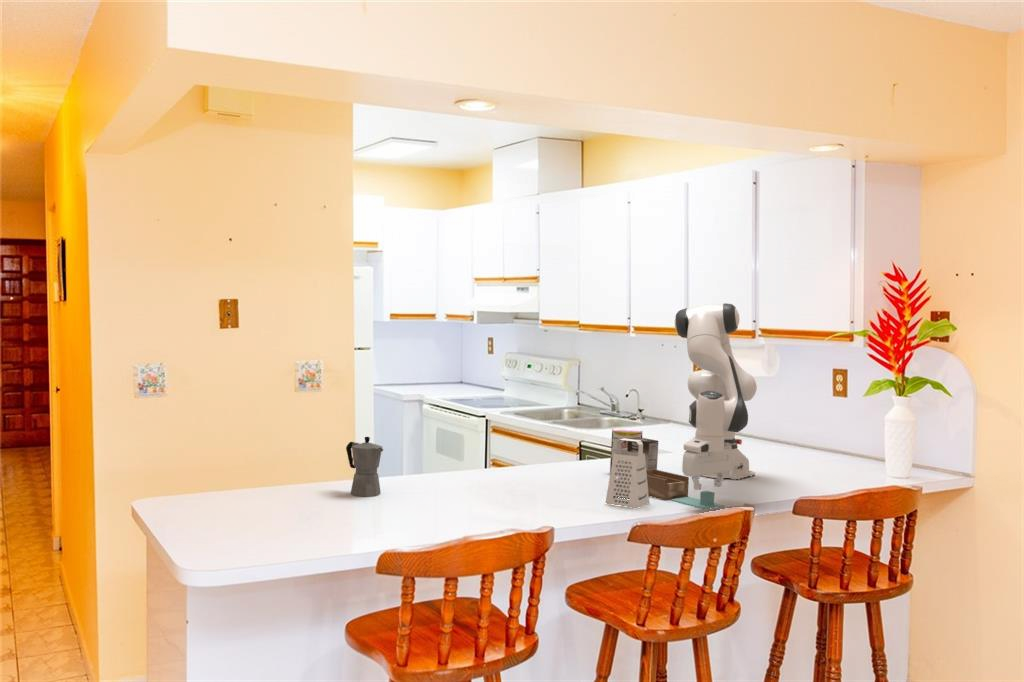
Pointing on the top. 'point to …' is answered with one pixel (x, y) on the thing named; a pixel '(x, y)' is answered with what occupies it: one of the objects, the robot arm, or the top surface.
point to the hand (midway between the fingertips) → (707, 487)
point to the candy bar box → (621, 434)
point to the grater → (628, 477)
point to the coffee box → (646, 451)
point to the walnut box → (666, 485)
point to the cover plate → (699, 501)
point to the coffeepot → (365, 468)
